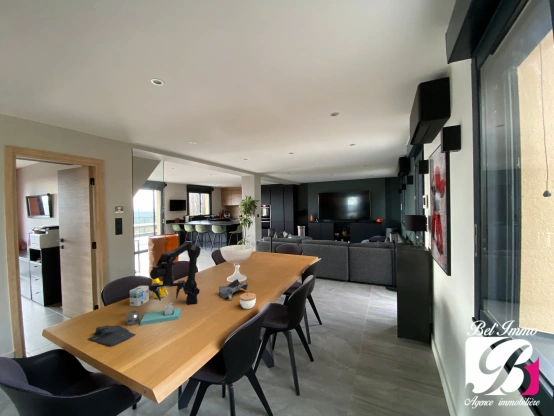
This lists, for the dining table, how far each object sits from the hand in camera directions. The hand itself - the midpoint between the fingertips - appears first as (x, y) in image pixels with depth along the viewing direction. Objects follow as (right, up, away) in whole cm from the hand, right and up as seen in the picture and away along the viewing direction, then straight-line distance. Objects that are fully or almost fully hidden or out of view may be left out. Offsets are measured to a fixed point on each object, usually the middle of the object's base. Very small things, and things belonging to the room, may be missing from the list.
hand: (168, 299), depth 138 cm
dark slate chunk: (-20, -13, -20) cm, 31 cm away
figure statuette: (-23, -12, +32) cm, 41 cm away
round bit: (-18, -12, -6) cm, 22 cm away
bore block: (-4, -11, -1) cm, 12 cm away
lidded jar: (+47, -10, +11) cm, 49 cm away
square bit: (0, -11, 0) cm, 11 cm away
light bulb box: (-31, -12, +22) cm, 40 cm away
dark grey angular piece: (+34, -10, +33) cm, 49 cm away
